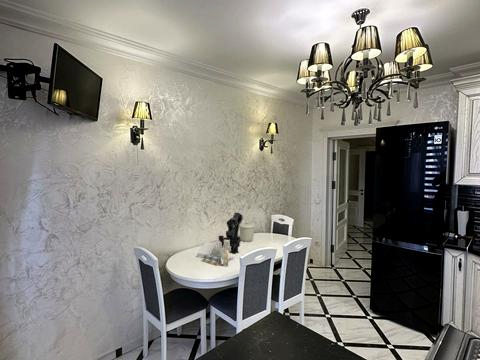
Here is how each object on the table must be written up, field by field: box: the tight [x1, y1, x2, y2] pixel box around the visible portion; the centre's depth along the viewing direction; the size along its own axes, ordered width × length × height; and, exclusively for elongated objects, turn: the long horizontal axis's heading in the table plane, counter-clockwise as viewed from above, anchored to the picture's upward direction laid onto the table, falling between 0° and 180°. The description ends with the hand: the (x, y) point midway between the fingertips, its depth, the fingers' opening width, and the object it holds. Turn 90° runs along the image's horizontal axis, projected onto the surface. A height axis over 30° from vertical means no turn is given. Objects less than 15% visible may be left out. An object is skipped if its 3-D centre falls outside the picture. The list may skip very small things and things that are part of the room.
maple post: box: [222, 249, 229, 268], centre depth 214 cm, size 4×4×13 cm
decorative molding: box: [197, 241, 216, 259], centre depth 249 cm, size 34×5×10 cm
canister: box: [239, 221, 256, 243], centre depth 287 cm, size 18×18×21 cm
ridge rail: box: [202, 254, 223, 267], centre depth 221 cm, size 16×6×5 cm, turn 55°
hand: (227, 248), depth 220 cm, fingers open, 9 cm apart
